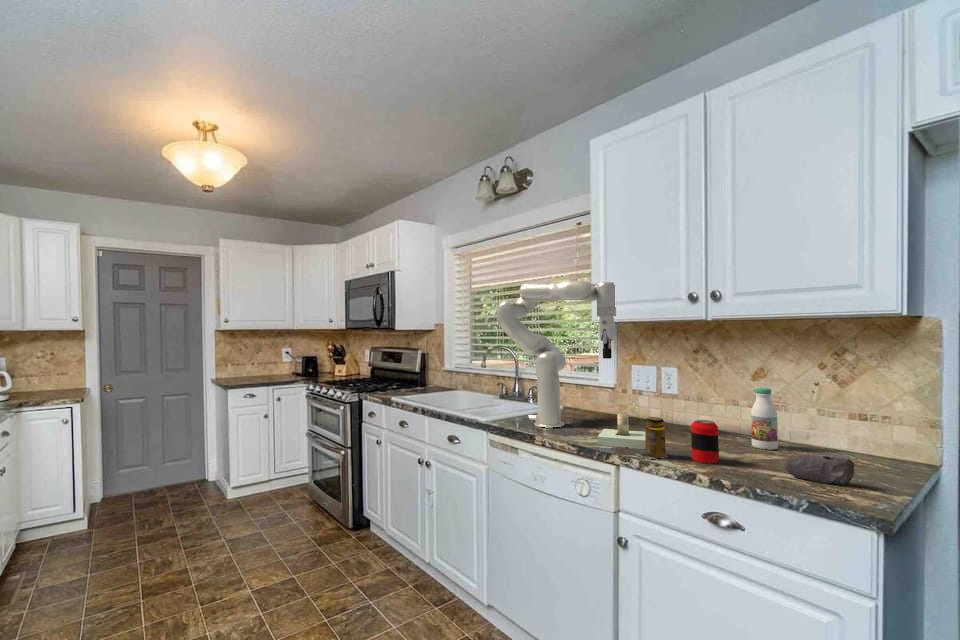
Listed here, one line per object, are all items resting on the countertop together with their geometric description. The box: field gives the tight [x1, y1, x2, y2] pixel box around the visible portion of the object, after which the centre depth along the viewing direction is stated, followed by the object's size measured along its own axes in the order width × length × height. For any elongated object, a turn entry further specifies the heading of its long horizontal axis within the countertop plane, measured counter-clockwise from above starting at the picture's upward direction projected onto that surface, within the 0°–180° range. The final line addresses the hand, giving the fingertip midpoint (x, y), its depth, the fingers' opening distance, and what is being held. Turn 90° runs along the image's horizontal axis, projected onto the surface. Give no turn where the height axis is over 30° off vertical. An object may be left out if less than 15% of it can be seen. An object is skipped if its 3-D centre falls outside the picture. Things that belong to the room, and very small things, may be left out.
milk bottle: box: [750, 387, 779, 451], centre depth 160 cm, size 8×8×20 cm
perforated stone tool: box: [784, 454, 856, 486], centre depth 124 cm, size 15×5×7 cm, turn 48°
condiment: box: [635, 416, 667, 459], centre depth 151 cm, size 7×8×12 cm
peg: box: [616, 413, 630, 436], centre depth 169 cm, size 4×4×10 cm
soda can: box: [690, 419, 720, 464], centre depth 145 cm, size 8×8×12 cm
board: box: [596, 428, 646, 450], centre depth 169 cm, size 16×14×3 cm
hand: (607, 358), depth 189 cm, fingers closed
